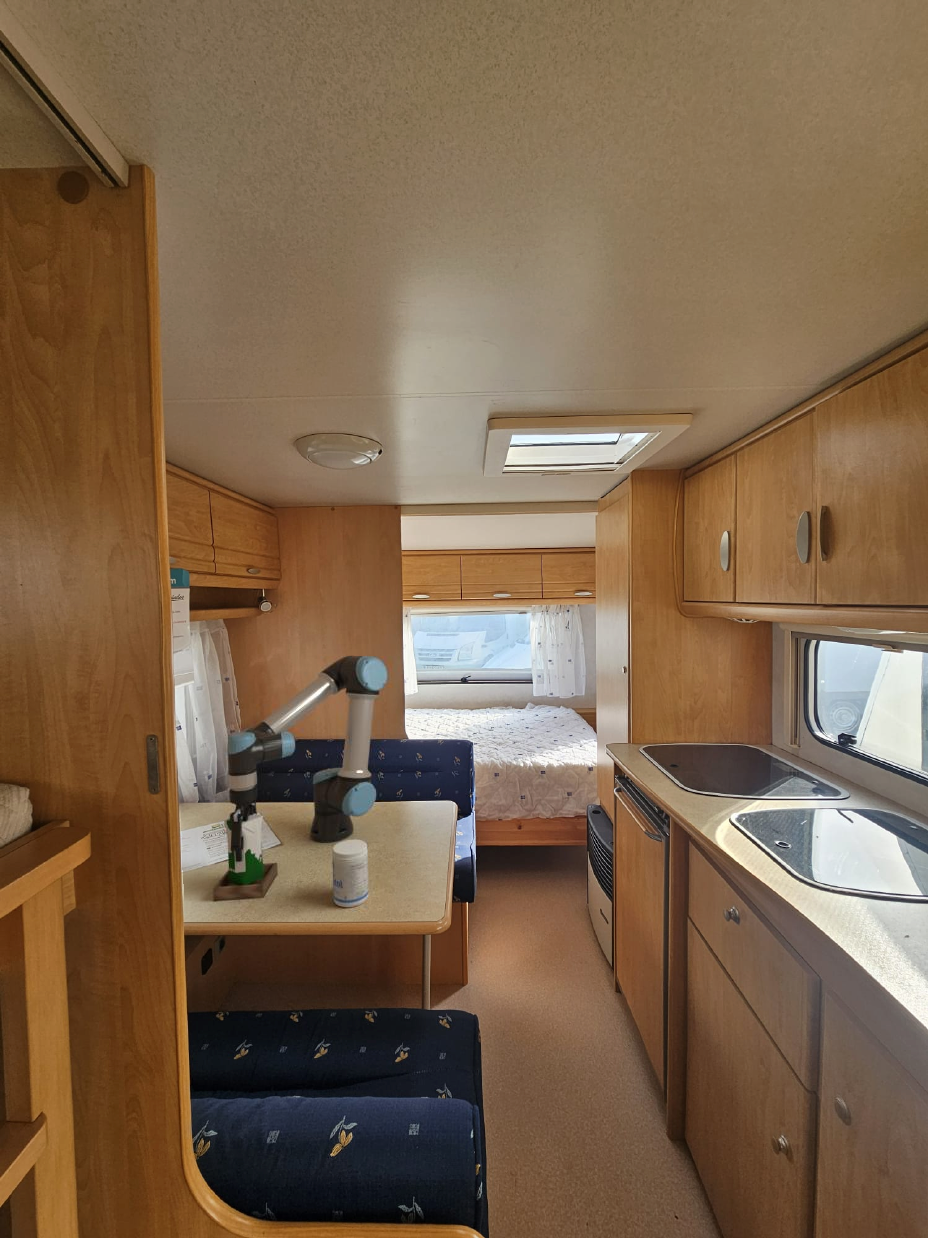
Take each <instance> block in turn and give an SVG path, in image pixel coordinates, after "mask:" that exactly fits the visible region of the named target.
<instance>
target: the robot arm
mask: <svg viewBox="0 0 928 1238" xmlns="http://www.w3.org/2000/svg"><path fill="white" fill-rule="evenodd" d="M387 670H388V669H387V667H386V665H385V664H384V663H383V661H382V660H381V659H379V658H378V657H375V656H369V655H361V656H360V655H347V656H343V657H341V658H339V659H337V660H336V661H335V662H333V663H331V664H329V666H327V667H326V668H325V669H323V670H322V671H320V672H319V673H318V675H317V678H316V679H315V680H313V681H312V682H311V683H310V684H309V685H307V686H306V687H305V688H303V689H302V690H301V691H300V692H298V693H297V694H295V695H294V696H293V697H292V698H290V699H289V700H288V701H287V702H285V703H284V704H283V705H282V706H280V707H278V709H277V710H275V711H274V712H273V713H271V714H270V715H269V716H267V717H266V718H265V719H263V720H262V721H260V722H259V723H258V724H257V725H256V726H254V727H248V728H245V729H243V731H241V732H237V733H234V734H231V735H229V736H228V738H227V745H226V746H227V747H226V748H227V750H226V754H227V765H228V776H227V778H226V779H227V780H228V788H229V792H228V793H229V802H230V803H231V804H234V805H235V809H234V812H235V814H232V815H231V822H232V826H231V851H234V853H235V872H245V848H244V839H243V836H242V818H243V820H245V821H243V822H246V821H247V820H248V817H249V816H250V814H251V815H253V814H258V813H257V811H258V809H257V799H258V785H257V784H258V776H257V764H260V763H264V762H268V761H273V760H274V761H275V760H278V759H283V758H286V757H290V756H291V755H293V753H294V752H295V750H296V741H295V737H294V736H293V734H292V732H290V731H288V730H289V729H290V728H292V727H293V726H295V724H296V723H298V722H299V721H300V720H301V719H302V718H304V717H305V716H306V715H308V714H309V713H310V712H311V711H312V710H314V709H315V708H317V707H318V706H319V705H320V704H321V703H322V702H324V701H325V700H326V699H328V698H329V697H330V696H331V695H337V694H338V693H339V692H341V691H342V690H345V695H346V697H348V698H349V702H348V709H347V710H348V711H347V718H346V719H347V721H346V728H345V729H346V730H345V740H344V750H343V759H342V767H334V768H327V769H323V770H319V771H318V772H316V773H315V774H314V775H313V778H312V779H313V780H312V785H313V788H312V789H313V807H314V816H313V819H312V824H311V827H310V830H309V835H310V839H311V840H312V841H313V842H318V843H332V842H333V843H334V842H338V841H343V840H345V839H346V838H347V839H348V838H349V837H350V836H351V835H352V834H353V833H354V823H353V821H352V818H351V817H362V816H364V815H367V813H368V812H369V811H370V810H371V809H372V808H373V806H374V805H375V802H376V799H377V790H376V788H375V786H374V784H372V783H371V782H372V773H371V772H370V771H369V768H368V767H369V757H370V745H371V736H372V726H373V715H374V704H375V700H376V699H377V698H378V697H380V690H381V689H382V688H384V686H385V685H386V683H387V681H388V680H387V679H388V671H387ZM241 816H242V817H241ZM241 836H242V837H241ZM243 848H244V849H243Z"/></svg>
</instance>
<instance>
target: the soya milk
mask: <svg viewBox="0 0 928 1238" xmlns="http://www.w3.org/2000/svg"><path fill="white" fill-rule="evenodd" d="M232 814H235V811H234V812H231V813H230V814H229V818H226V819H225V820H224V827H225V832H226V837H227V858H228V859H227V860H228V870H229V872H228V882H231V883H233V884H236V885H239V886H241V885H248V884H250V883H252V882H254V881H256V880H258V879H260V878H262V877H264V867H263V864H264V859H263V838H262V833H263V832H262V826H263V820H264V815H262V814H258V813H257V814H253V815H251V814H250V816H249V817H248V820H247V821H246V822H243V821H245V820H243V818H242V836H243V839H244V848H245V872H235V853H234V851H231V826H232V822H231V815H232ZM241 817H242V816H241ZM242 836H241V837H242ZM244 848H243V849H244Z"/></svg>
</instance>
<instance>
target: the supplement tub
mask: <svg viewBox="0 0 928 1238" xmlns="http://www.w3.org/2000/svg"><path fill="white" fill-rule="evenodd" d="M368 853H369V852H368V844H367V843H366V841H363V840H361V839H348V840H347V839H346V840H341V841H340V842H338V843H336V844H335V845H334V846H333V848H332V854H331V856H332V857H331V858H332V889H333V893H332V894H333V895H332V896H333V902H334V903H335V904H336V905H337V906H339V907H342V908H354V907H357V906H359V905H363V904H364V903H365V902H366V901H367V900H368V898H369V891H370V889H369V886H370V885H369V856H368Z"/></svg>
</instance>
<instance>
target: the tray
mask: <svg viewBox="0 0 928 1238" xmlns="http://www.w3.org/2000/svg"><path fill="white" fill-rule="evenodd" d="M263 867H264V877H262V878H260V879H258V880H256V881H254V882H252V883H250V884H248V885H241V886H239V885H236V884H233V883H231V882H228V872H229V869H228V870H227V871H226V872H225V874H224V875H222V878H221V879H220V880H219V881H218V883H216V885H215V886H214V888H213V889H212V890H213V891H212V895H213V902H223V901H235V900H237V901H240V900H250V899H252V900H253V899H264V898H265V896H266V894H267V893H268V892H269V891H268V890H270V888H271V886H272V884H273V882H274V881H275V879H277V878H276V877H277V875H278V863H277V862H267V863H263Z"/></svg>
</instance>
